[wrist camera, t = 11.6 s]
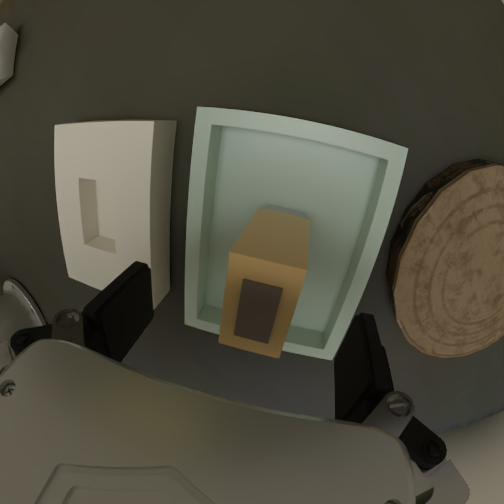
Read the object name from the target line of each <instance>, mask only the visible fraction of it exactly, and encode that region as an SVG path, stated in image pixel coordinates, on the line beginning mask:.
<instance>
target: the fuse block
mask: <svg viewBox="0 0 504 504" xmlns="http://www.w3.org/2000/svg"><path fill="white" fill-rule="evenodd" d="M176 125H177V121H171V120H101V121H84V122H74V123H67V124H60V125H55V138H54V160H55V184H56V198H57V208H58V217H59V225H60V232H61V238H62V244H63V250H64V256H65V261H66V266H67V271H68V275H69V277H70V278H73V279H75V280H77V281H80V282H82V283H84V284H87V285H89V286H92V287H94V288H97V289H99V290H103V289H104V288H106V287H107V286H108V285H109V284H110V283H111V282H112V281H113V280H114V279H115V278H117V277H118V276H119V275H120V274H121V273H122V272H123V271H124V270H126V269H127V268H128V267H129V266H130V265H131V264H132V263H133V262H135V261H139V262H143V263H146V264H148V267H149V268H150V269H151V279H152V296H153V309H155V308H156V307H157V305H158V304H159V303H160V302H161V300H162V299H163V298H164V297H165V296H166V294H167V293H168V292H169V291H170V209H171V187H172V171H173V157H174V145H175V135H176Z"/></svg>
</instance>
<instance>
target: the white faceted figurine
mask: <svg viewBox="0 0 504 504" xmlns="http://www.w3.org/2000/svg"><path fill="white" fill-rule="evenodd" d="M17 39H18V34H17V33H16V32H15V31H14V30H13V29H12V28H11V27H10V26H8V25H7V24H6V23H4V24H3V25H2V26H1V27H0V86H1V85H2V84H3V83H4V82H6V81H7V80H8V79H9V78H10V77H11V76H13V68H14V59H15V52H16V45H17Z"/></svg>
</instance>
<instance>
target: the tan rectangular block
mask: <svg viewBox="0 0 504 504" xmlns="http://www.w3.org/2000/svg"><path fill="white" fill-rule="evenodd" d="M304 217H305V213H303V212H299V211H295V210H291V209H286V208H282V207H277V206H273V205H268V206H267V208H266V209H263V208H259V209H258V210H257V211H256V213H255V214H254V216H253V217H252V219H251V220H250V222H249V223H248V225H247V226H246V228H245V229H244V231H243V232H242V234H241V235H240V237H239V238H238V240H237V241H236V243H235V244H234V246H233V247H232V249H231V250H230V252H229V260H228V267H227V275H226V283H225V291H224V299H223V308H222V316H221V325H220V333H219V342H218V343H221V344H225V345H228V346H232V347H235V348H239V349H243V350H247V351H250V352H254V353H258V354H262V355H266V356H270V357H275V358H279V357H280V354H281V351H282V348H283V345H284V342H285V339H286V336H287V333H288V330H289V327H290V324H291V321H292V318H293V315H294V312H295V309H296V305H297V302H298V299H299V296H300V293H301V289H302V286H303V283H304V279H305V276H306V273H307V265H308V250H309V232H310V219H306V218H304Z"/></svg>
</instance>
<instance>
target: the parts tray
mask: <svg viewBox="0 0 504 504" xmlns="http://www.w3.org/2000/svg"><path fill="white" fill-rule="evenodd" d="M407 152H408V148H405V147H402V146H399V145H396V144H393V143H390V142H387V141H384V140H381V139H378V138H374V137H371V136H368V135H364V134H361V133H357V132H353V131H349V130H346V129H342V128H338V127H334V126H329V125H325V124H320V123H316V122H311V121H306V120H301V119H296V118H290V117H285V116H279V115H272V114H266V113H259V112H251V111H243V110H234V109H223V108H211V107H197V113H196V121H195V130H194V139H193V148H192V158H191V169H190V181H189V194H188V210H187V228H186V252H185V325H189V326H192V327H195V328H198V329H202V330H205V331H208V332H212V333H215V334H219V333H220V325H221V316H222V308H223V299H224V291H225V283H226V275H227V267H228V260H229V252H230V250H231V249H232V247H233V246H234V244H235V243H236V241H237V240H238V238H239V237H240V235H241V234H242V232H243V231H244V229H245V228H246V226H247V225H248V223H249V222H250V220H251V219H252V217H253V216H254V214H255V213H256V211H257V210H258V209H259V208H263V209H266V208H267V206H268V205H273V206H277V207H282V208H286V209H291V210H295V211H299V212H303V213H305V217H304V218H306V219H310V232H309V250H308V265H307V273H306V276H305V279H304V283H303V286H302V289H301V293H300V296H299V299H298V302H297V305H296V309H295V312H294V315H293V318H292V321H291V324H290V327H289V330H288V333H287V336H286V339H285V342H284V345H283V348H282V350H283V351H287V352H292V353H297V354H301V355H306V356H311V357H317V358H322V359H327V360H332V359H333V357H334V355H335V353H336V351H337V349H338V347H339V345H340V343H341V341H342V339H343V337H344V335H345V333H346V330H347V328H348V326H349V324H350V322H351V320H352V317H353V315H354V313H355V311H356V308H357V306H358V304H359V301H360V299H361V297H362V294H363V292H364V289H365V287H366V284H367V282H368V279H369V277H370V274H371V272H372V269H373V266H374V264H375V261H376V258H377V255H378V253H379V250H380V247H381V244H382V241H383V238H384V235H385V232H386V229H387V226H388V223H389V220H390V216H391V213H392V210H393V206H394V203H395V200H396V196H397V192H398V189H399V185H400V181H401V177H402V173H403V169H404V165H405V161H406V156H407Z"/></svg>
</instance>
